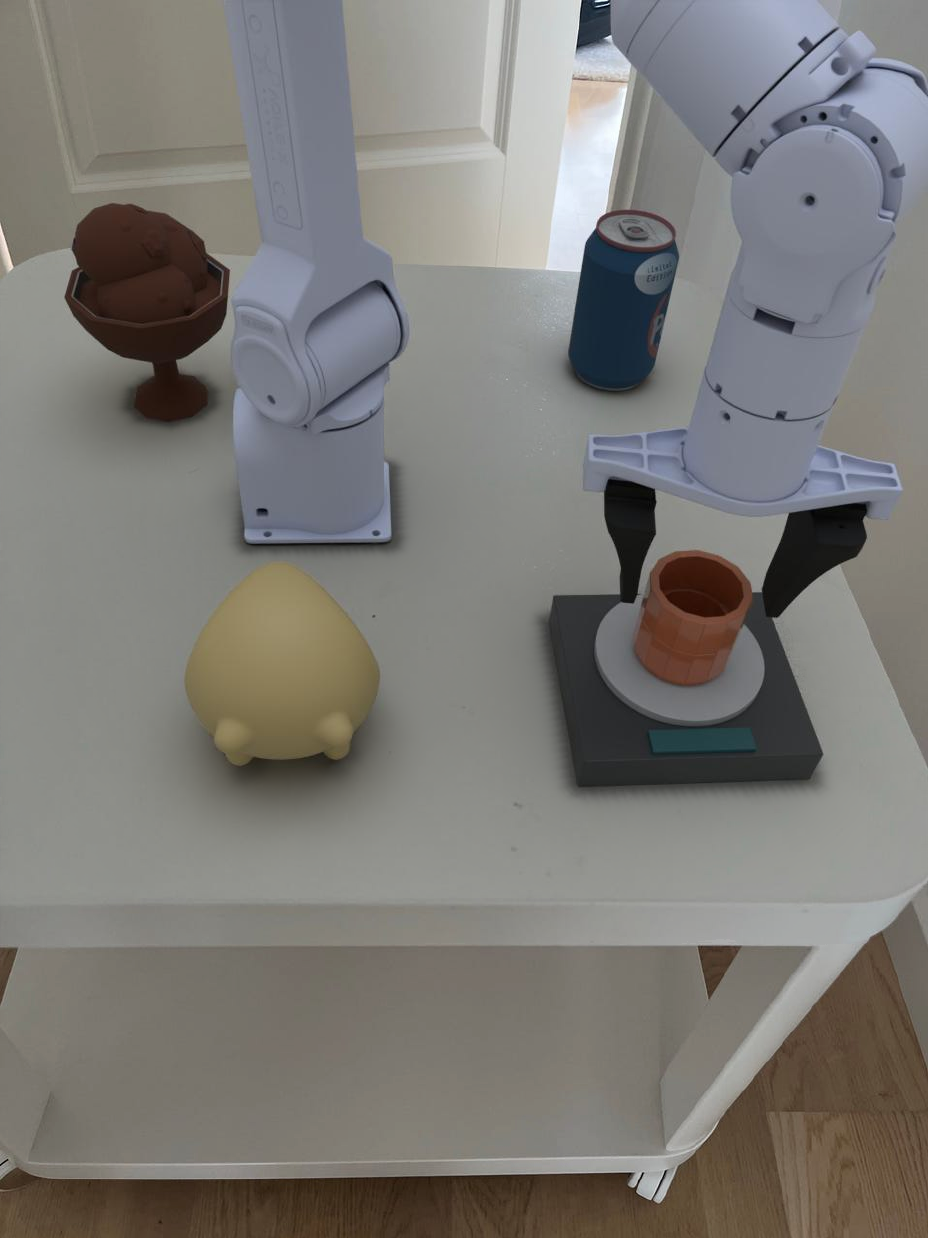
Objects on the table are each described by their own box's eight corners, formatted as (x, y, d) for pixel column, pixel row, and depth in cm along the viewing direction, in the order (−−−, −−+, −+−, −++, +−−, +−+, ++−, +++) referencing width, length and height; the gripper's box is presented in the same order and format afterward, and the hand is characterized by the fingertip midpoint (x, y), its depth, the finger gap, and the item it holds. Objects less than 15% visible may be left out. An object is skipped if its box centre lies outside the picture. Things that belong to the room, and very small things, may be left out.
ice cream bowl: (217, 454, 71) (185, 255, 60) (68, 428, 72) (10, 228, 61) (266, 371, 78) (246, 179, 67) (130, 348, 79) (88, 156, 68)
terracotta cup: (633, 684, 55) (652, 618, 51) (630, 611, 59) (648, 544, 55) (731, 694, 55) (758, 629, 51) (722, 620, 59) (746, 554, 55)
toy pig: (374, 748, 59) (372, 567, 59) (387, 779, 47) (383, 553, 47) (204, 753, 58) (201, 569, 58) (172, 787, 46) (169, 555, 46)
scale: (577, 787, 54) (585, 755, 52) (548, 621, 62) (554, 587, 60) (810, 779, 55) (828, 748, 53) (752, 617, 63) (765, 584, 61)
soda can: (662, 394, 79) (697, 250, 70) (576, 397, 78) (601, 252, 69) (638, 344, 84) (668, 204, 75) (557, 347, 83) (578, 205, 74)
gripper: (917, 346, 46) (822, 558, 56) (602, 316, 46) (564, 532, 56) (955, 440, 41) (844, 653, 51) (604, 406, 41) (562, 625, 52)
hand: (698, 596), depth 54 cm, fingers open, 7 cm apart
